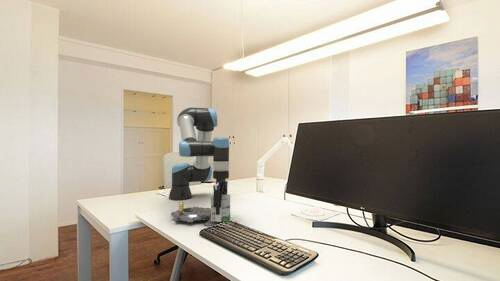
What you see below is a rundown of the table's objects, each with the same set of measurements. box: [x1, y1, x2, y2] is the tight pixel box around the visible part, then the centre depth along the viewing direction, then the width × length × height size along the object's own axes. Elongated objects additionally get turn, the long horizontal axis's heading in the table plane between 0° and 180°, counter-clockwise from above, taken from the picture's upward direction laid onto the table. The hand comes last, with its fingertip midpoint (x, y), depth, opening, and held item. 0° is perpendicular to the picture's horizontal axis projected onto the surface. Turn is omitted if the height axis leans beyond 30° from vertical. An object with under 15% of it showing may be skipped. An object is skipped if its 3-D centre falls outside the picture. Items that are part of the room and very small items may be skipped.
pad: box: [203, 218, 237, 227], centre depth 120 cm, size 9×13×1 cm
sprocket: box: [170, 201, 211, 223], centre depth 128 cm, size 21×21×8 cm
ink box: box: [210, 193, 231, 222], centre depth 120 cm, size 9×5×12 cm, turn 84°
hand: (220, 219), depth 120 cm, fingers closed on ink box, 5 cm apart
